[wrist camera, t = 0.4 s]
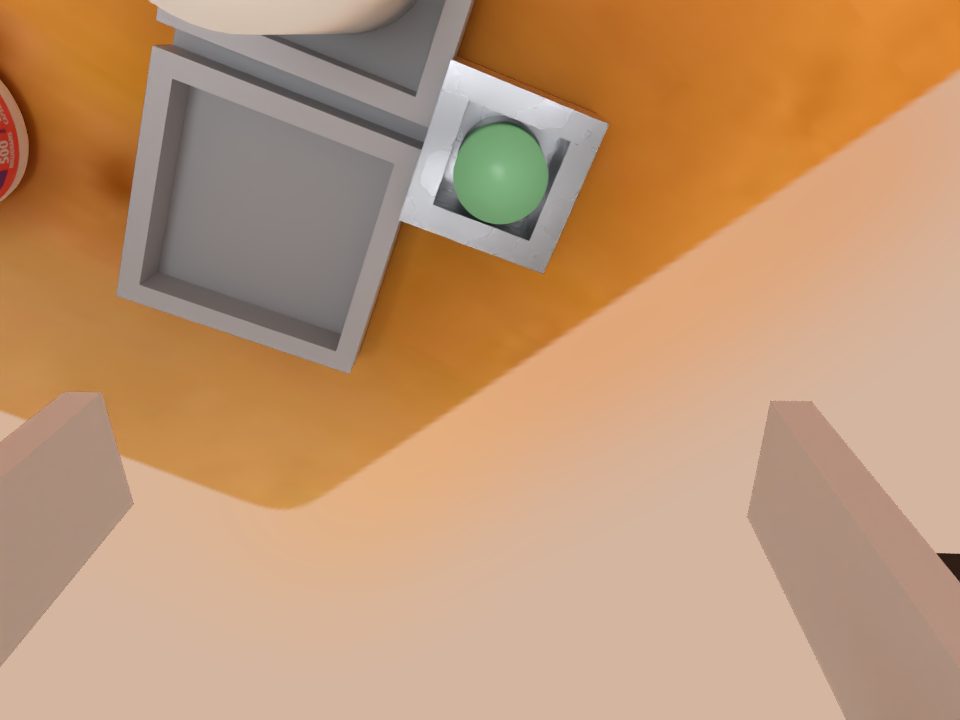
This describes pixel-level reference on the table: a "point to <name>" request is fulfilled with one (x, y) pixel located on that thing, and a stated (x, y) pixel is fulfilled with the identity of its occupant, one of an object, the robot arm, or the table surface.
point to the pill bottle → (11, 143)
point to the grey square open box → (562, 139)
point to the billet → (287, 15)
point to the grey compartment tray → (281, 175)
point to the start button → (500, 171)
